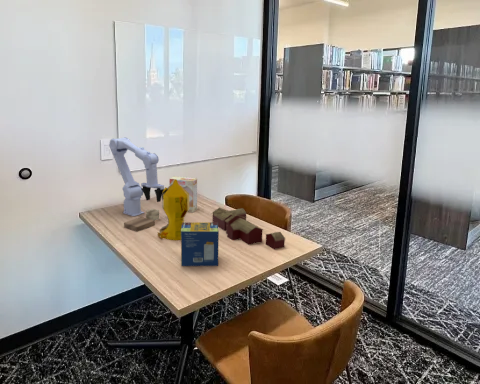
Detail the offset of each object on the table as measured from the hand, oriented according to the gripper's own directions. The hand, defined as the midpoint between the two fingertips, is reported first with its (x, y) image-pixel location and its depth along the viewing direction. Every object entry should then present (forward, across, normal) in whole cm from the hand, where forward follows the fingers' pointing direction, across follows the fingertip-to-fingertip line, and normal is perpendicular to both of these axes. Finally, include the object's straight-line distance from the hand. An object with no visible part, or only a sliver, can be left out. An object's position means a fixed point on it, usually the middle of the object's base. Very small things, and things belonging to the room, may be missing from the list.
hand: (153, 200), depth 200 cm
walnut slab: (+11, 0, -12) cm, 17 cm away
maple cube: (+11, -2, 0) cm, 11 cm away
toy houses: (+14, +53, +9) cm, 55 cm away
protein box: (+14, +50, -28) cm, 59 cm away
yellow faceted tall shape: (+12, +23, -11) cm, 28 cm away
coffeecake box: (+11, +2, +23) cm, 26 cm away
